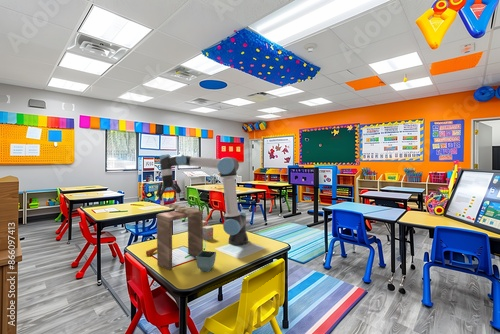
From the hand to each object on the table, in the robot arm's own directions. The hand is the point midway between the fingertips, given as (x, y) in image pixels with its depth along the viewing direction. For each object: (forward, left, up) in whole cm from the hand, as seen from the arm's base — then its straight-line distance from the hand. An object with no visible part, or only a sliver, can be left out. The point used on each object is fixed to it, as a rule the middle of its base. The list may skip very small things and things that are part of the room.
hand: (170, 203), depth 176 cm
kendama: (+5, +12, -31) cm, 34 cm away
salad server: (-13, +24, 0) cm, 27 cm away
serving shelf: (-13, +32, -30) cm, 46 cm away
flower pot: (-30, +46, -31) cm, 63 cm away
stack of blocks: (-22, -16, -31) cm, 41 cm away
